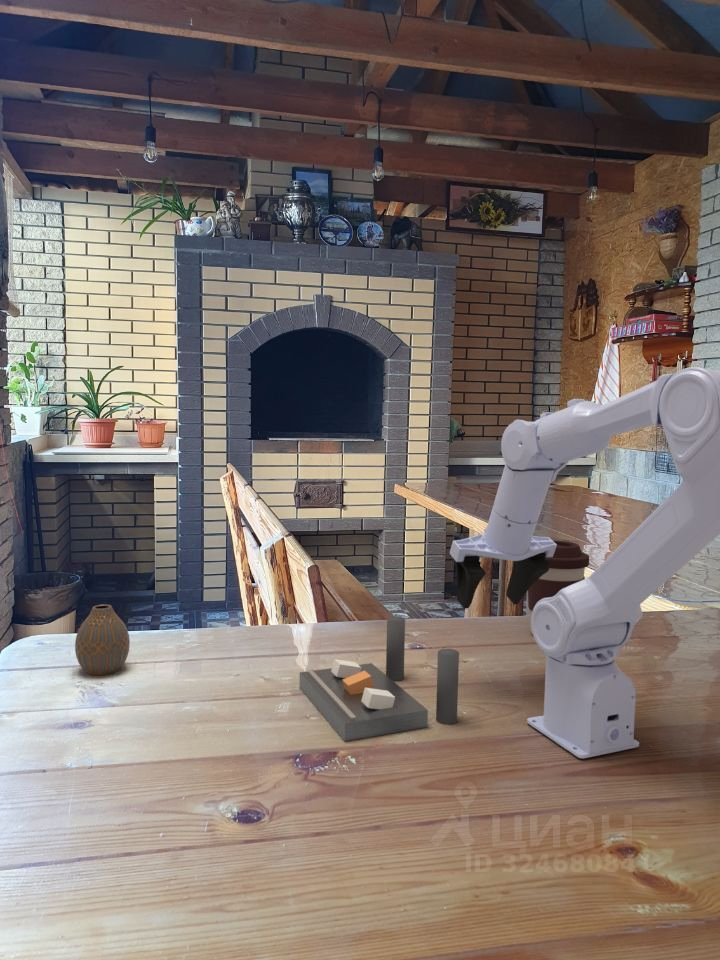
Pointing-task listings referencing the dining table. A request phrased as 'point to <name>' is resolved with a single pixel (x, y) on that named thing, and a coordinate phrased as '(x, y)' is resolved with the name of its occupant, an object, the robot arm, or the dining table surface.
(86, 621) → the vase
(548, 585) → the coffee cup
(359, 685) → the orange block
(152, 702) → the dining table surface
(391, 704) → the paddle
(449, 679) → the post
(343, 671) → the paddle
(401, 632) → the post
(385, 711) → the breaker panel
